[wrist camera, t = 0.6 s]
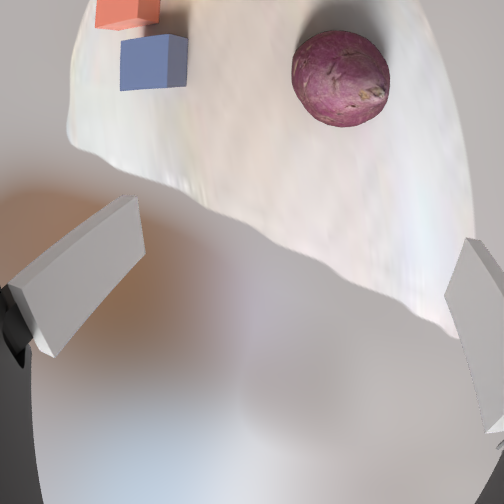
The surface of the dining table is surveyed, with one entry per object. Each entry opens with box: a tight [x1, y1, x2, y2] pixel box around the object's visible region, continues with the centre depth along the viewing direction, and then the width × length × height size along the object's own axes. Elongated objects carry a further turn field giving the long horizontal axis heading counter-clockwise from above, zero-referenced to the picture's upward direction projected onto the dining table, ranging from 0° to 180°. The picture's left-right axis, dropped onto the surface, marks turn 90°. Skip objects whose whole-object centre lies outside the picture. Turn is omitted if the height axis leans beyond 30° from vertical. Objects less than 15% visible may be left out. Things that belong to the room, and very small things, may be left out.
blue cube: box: [120, 34, 188, 91], centre depth 29 cm, size 6×6×5 cm
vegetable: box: [292, 31, 390, 127], centre depth 23 cm, size 10×10×15 cm
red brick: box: [95, 0, 160, 31], centre depth 26 cm, size 6×6×5 cm
